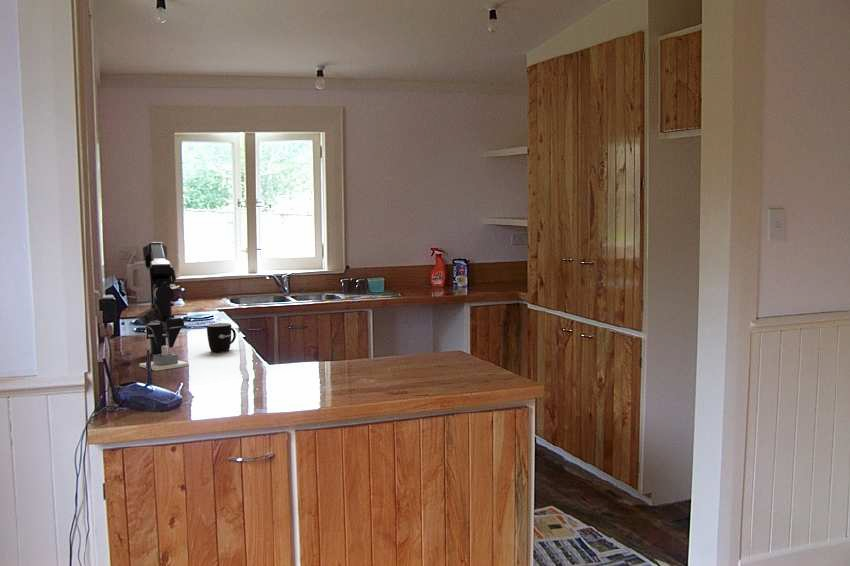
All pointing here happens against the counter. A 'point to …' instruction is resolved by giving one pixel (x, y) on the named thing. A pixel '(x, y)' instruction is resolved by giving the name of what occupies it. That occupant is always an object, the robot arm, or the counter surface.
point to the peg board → (158, 367)
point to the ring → (165, 359)
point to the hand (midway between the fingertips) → (164, 346)
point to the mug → (220, 337)
